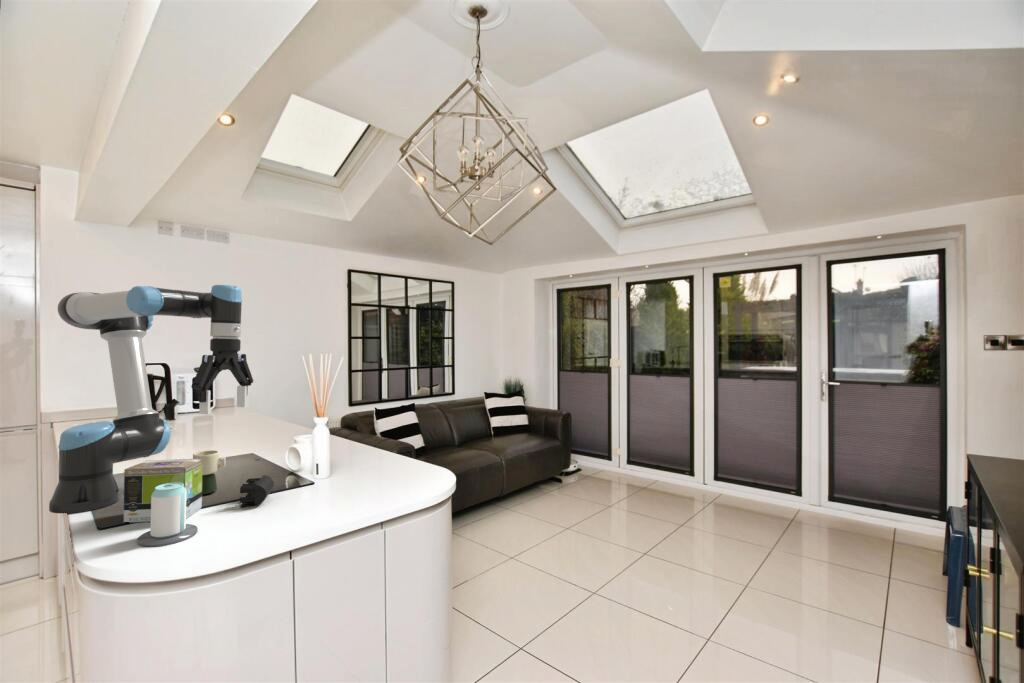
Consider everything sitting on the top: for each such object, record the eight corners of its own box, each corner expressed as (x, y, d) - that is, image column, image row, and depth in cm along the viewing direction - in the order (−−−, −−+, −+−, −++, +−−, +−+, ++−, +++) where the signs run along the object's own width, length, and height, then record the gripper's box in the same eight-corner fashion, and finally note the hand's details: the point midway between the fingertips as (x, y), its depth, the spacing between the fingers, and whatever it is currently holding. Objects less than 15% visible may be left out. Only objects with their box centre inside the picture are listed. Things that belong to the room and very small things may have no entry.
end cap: (265, 506, 134) (266, 484, 134) (239, 508, 132) (239, 485, 132) (273, 495, 144) (274, 474, 144) (248, 497, 142) (249, 475, 142)
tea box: (202, 507, 132) (204, 457, 132) (184, 521, 122) (185, 467, 122) (145, 510, 130) (146, 458, 130) (121, 524, 120) (122, 468, 120)
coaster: (123, 544, 108) (123, 541, 108) (169, 524, 120) (169, 522, 120) (166, 549, 106) (167, 546, 106) (209, 528, 118) (209, 526, 118)
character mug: (227, 488, 150) (228, 449, 150) (221, 495, 143) (222, 454, 143) (189, 491, 146) (190, 451, 146) (181, 498, 139) (182, 456, 139)
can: (142, 539, 110) (143, 489, 110) (166, 527, 117) (167, 480, 117) (170, 540, 109) (171, 490, 109) (192, 528, 116) (193, 481, 116)
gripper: (201, 337, 119) (199, 417, 119) (266, 338, 144) (265, 405, 144) (176, 337, 120) (174, 416, 120) (246, 338, 145) (244, 404, 145)
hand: (224, 410), depth 132 cm, fingers open, 13 cm apart
